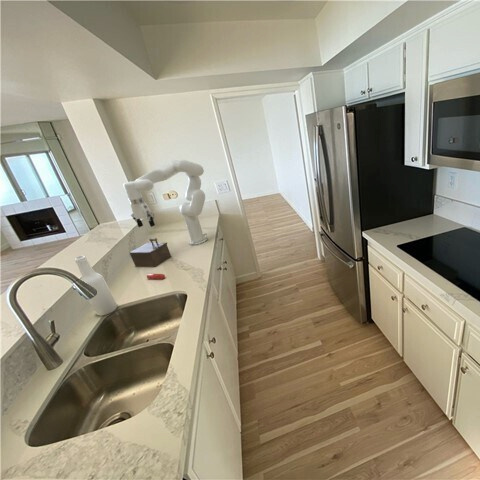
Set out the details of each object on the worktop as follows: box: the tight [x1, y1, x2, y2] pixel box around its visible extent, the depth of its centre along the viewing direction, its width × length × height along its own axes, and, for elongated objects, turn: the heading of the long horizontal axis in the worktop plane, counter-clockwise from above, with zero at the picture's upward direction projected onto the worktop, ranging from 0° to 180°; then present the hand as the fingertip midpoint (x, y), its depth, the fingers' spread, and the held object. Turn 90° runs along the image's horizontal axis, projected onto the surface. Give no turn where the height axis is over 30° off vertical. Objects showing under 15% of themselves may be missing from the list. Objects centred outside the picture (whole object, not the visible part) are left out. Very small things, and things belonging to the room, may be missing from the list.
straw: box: [146, 273, 166, 280], centre depth 158 cm, size 12×3×3 cm, turn 77°
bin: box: [129, 243, 172, 268], centre depth 181 cm, size 15×17×10 cm
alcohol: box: [74, 255, 118, 317], centre depth 126 cm, size 9×9×30 cm
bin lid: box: [129, 237, 168, 255], centre depth 178 cm, size 15×17×5 cm
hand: (146, 226), depth 176 cm, fingers open, 9 cm apart
